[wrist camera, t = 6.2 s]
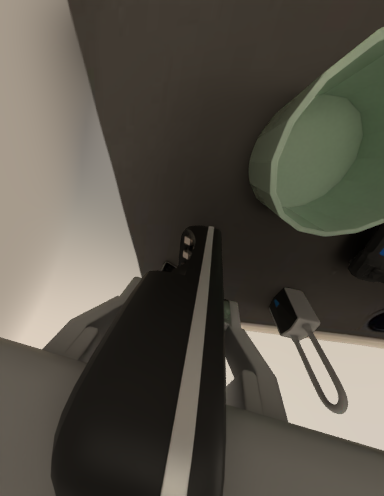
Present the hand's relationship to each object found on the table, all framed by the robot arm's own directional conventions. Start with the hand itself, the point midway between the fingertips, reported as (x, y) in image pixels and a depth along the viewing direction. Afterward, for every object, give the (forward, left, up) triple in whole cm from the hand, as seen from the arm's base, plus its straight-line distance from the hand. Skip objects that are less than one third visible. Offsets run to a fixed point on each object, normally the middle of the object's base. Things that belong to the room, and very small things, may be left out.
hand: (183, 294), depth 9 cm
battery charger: (0, 0, -5) cm, 5 cm away
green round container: (-10, -9, -15) cm, 20 cm away
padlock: (-20, +13, -15) cm, 28 cm away
